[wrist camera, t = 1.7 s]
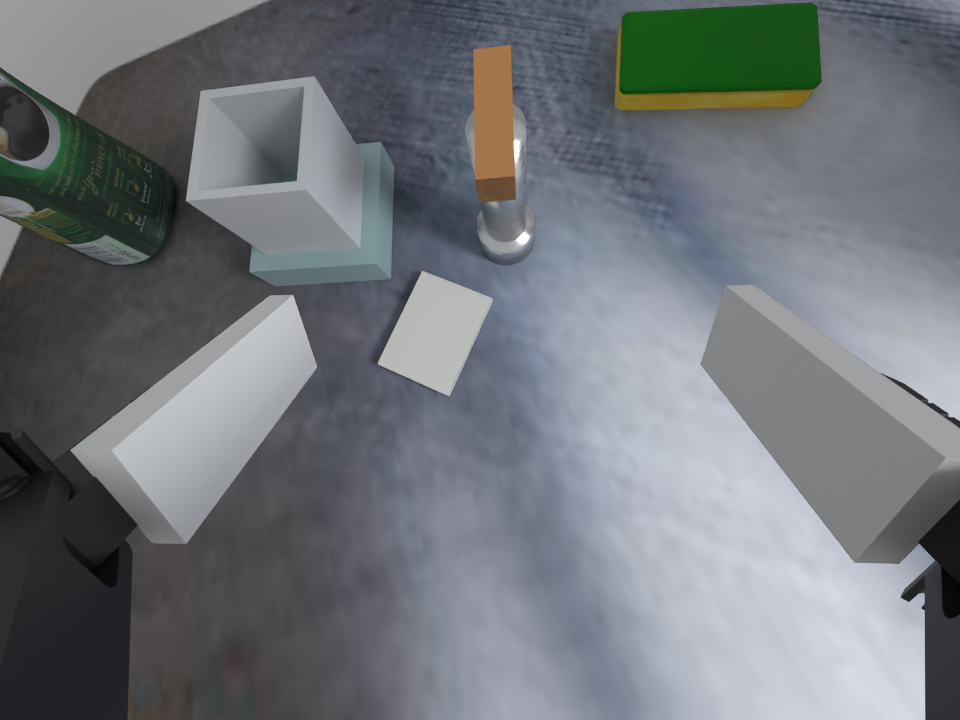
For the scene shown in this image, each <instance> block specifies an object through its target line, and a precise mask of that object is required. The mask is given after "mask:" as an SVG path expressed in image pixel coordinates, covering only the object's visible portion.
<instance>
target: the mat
mask: <svg viewBox="0 0 960 720" xmlns="http://www.w3.org/2000/svg"><path fill="white" fill-rule="evenodd" d="M492 302H493V298H491V297H488V296H485V295H483V294H480V293H478V292H475V291H473V290H470V289H467V288H465V287H462V286H460V285H457V284H455V283H452V282H450V281H447V280H444V279H442V278H439V277H437V276H434V275H432V274H429V273H427V272H424V271H422V272H421V275H420V277H419V279H418V281H417V283H416V285H415V287H414V289H413V291H412V293H411V295H410V297H409V299H408V302H407V304H406V306H405V308H404V310H403V312H402V314H401V316H400V318H399V320H398V322H397V324H396V326H395V328H394V331H393V333H392V335H391V337H390V339H389V341H388V343H387V345H386V347H385V349H384V351H383V353H382V355H381V357H380V360H379V362H378V365H381V366H383V367H385V368H387V369H389V370H392V371H394V372H396V373H398V374H401V375H403V376H405V377H407V378H409V379H412V380H414V381H416V382H418V383H420V384H423V385H425V386H427V387H429V388H431V389H434V390H436V391H438V392H440V393H443V394H445V395H447V396H449V397H450V395H451V393H452V390H453V388H454V386H455V384H456V381H457V379H458V377H459V375H460V373H461V370H462V368H463V366H464V364H465V362H466V359H467V357H468V355H469V353H470V351H471V348H472V346H473V344H474V342H475V340H476V337H477V335H478V333H479V331H480V329H481V326H482V324H483V322H484V320H485V318H486V315H487V313H488V311H489V309H490V307H491V304H492Z"/></svg>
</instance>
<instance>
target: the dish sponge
mask: <svg viewBox="0 0 960 720" xmlns="http://www.w3.org/2000/svg"><path fill="white" fill-rule="evenodd" d="M821 81H822V80H821V64H820V47H819V31H818V15H817V6H816V5H815V4H813V3H794V4H775V5H756V6H737V7H718V8H699V9H680V10H661V11H642V12H627V13H626V14H625V15H623V17H622V24H621V26H620V30H619V34H618V39H617V59H616V86H615V107H616V108H617V109H618V110H661V109H716V108H770V107H799V106H800V105H801V104H802V103H804V101H805V100H806V99H807V98H808V97H809V95H810V94H811V93H812V92H813V91H814V90H815V88H816V87H817V86H818V85H819V84H820V83H821Z"/></svg>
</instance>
